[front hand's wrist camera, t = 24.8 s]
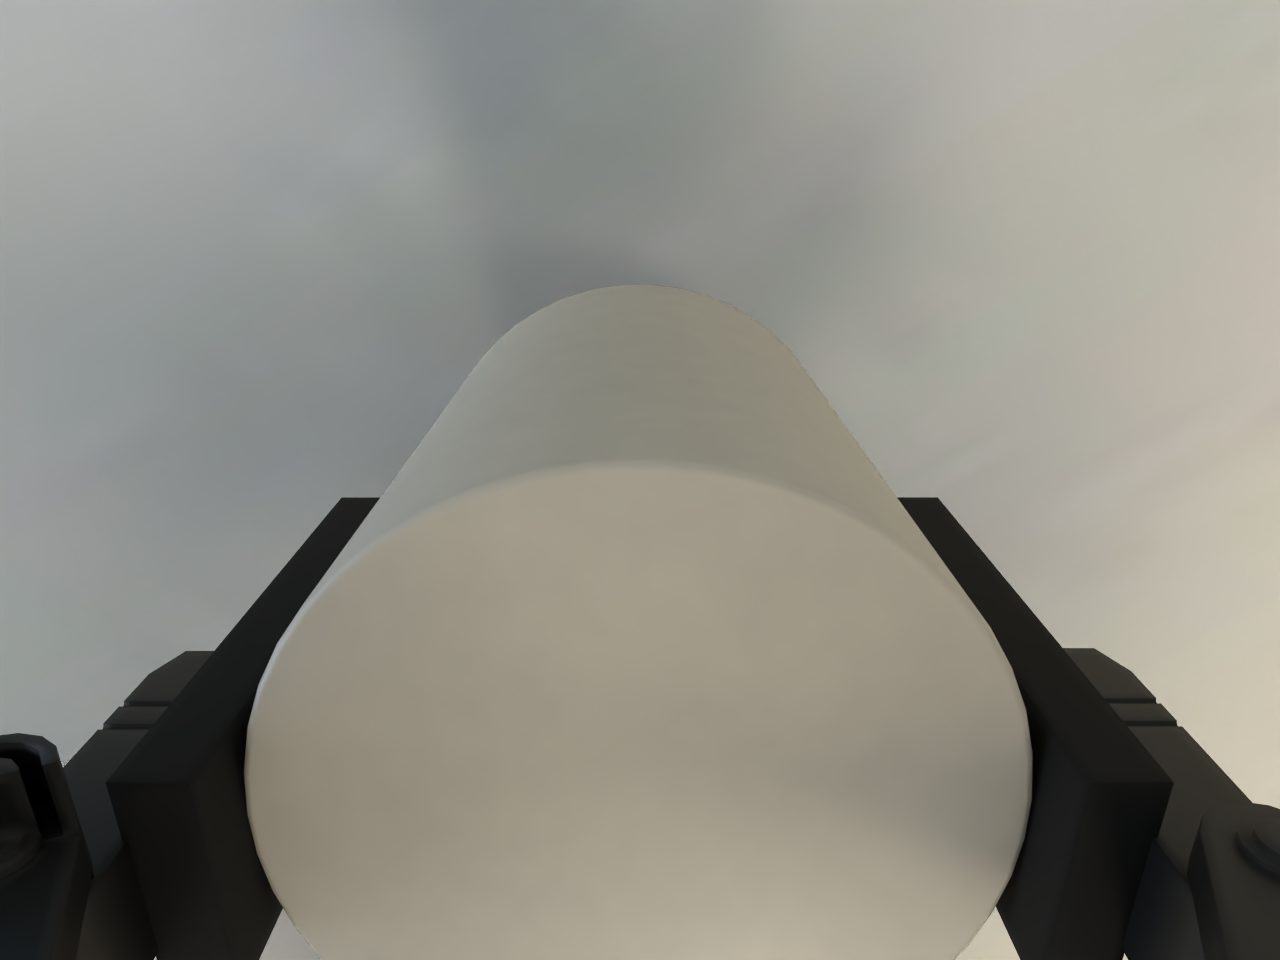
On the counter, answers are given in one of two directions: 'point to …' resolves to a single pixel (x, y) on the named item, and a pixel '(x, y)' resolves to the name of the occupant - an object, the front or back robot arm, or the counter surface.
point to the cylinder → (638, 676)
